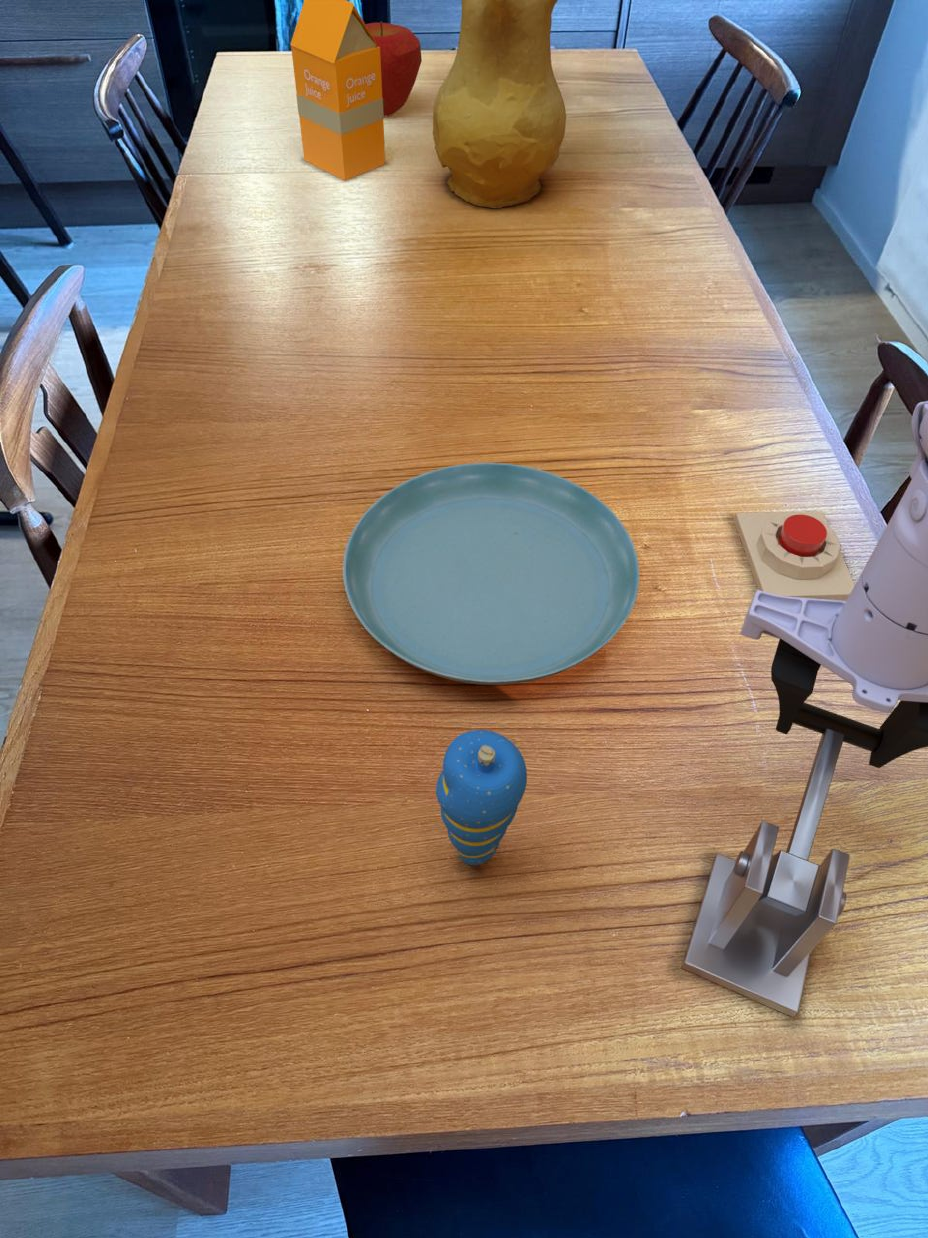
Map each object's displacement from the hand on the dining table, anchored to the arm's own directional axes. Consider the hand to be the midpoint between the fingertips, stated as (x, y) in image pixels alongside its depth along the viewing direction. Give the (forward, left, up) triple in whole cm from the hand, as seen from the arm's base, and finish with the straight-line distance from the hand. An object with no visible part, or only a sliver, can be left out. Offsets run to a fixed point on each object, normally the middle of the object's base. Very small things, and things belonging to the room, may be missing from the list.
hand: (829, 736), depth 55 cm
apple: (+80, -93, -10) cm, 123 cm away
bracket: (0, +9, -10) cm, 14 cm away
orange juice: (+77, -75, -10) cm, 108 cm away
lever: (0, +5, -2) cm, 5 cm away
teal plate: (+27, -11, -10) cm, 31 cm away
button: (+4, -25, -8) cm, 27 cm away
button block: (+4, -25, -10) cm, 27 cm away
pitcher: (+55, -79, -10) cm, 96 cm away
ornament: (+18, +12, -10) cm, 24 cm away
